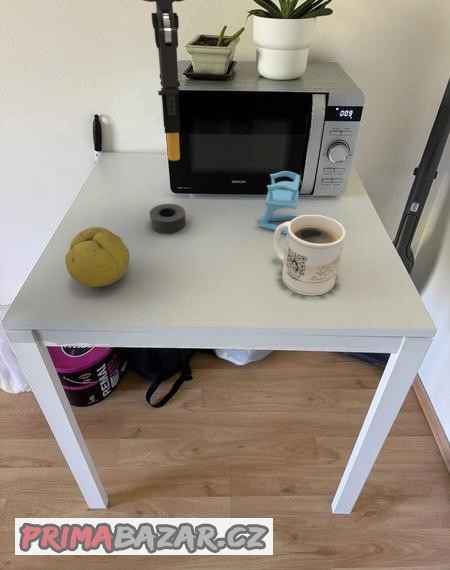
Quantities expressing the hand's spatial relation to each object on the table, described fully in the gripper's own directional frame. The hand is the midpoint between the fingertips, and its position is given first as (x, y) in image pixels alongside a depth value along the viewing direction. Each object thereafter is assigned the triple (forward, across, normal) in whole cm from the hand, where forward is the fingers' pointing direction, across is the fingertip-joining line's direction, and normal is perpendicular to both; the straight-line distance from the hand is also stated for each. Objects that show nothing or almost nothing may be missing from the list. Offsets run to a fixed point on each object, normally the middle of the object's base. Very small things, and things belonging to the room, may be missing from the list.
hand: (172, 129), depth 79 cm
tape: (+23, +5, +2) cm, 23 cm away
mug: (+23, -17, -22) cm, 36 cm away
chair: (+23, +1, -22) cm, 32 cm away
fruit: (+23, -13, +15) cm, 30 cm away
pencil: (+5, 0, 0) cm, 5 cm away
